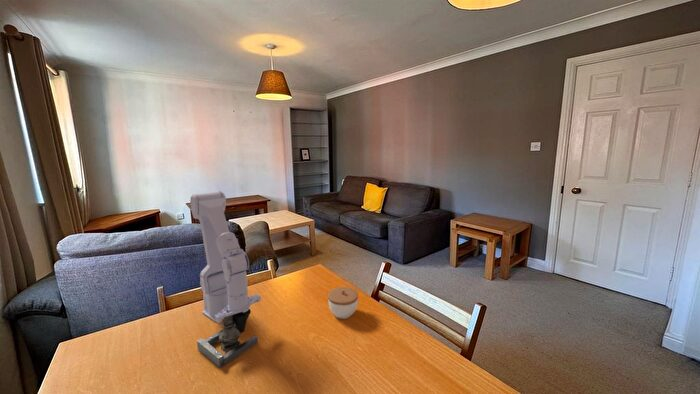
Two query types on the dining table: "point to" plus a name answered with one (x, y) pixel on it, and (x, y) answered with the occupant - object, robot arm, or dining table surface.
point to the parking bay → (215, 355)
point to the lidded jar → (343, 301)
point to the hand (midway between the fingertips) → (240, 331)
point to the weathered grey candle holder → (229, 334)
